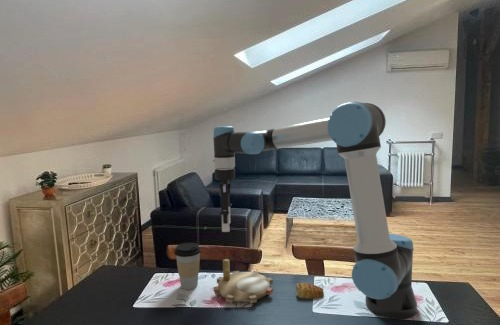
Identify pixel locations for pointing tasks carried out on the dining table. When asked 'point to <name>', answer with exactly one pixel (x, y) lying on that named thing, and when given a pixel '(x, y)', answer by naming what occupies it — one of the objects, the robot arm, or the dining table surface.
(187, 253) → the coffee cup
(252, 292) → the turntable
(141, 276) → the dining table surface
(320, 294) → the pastry
